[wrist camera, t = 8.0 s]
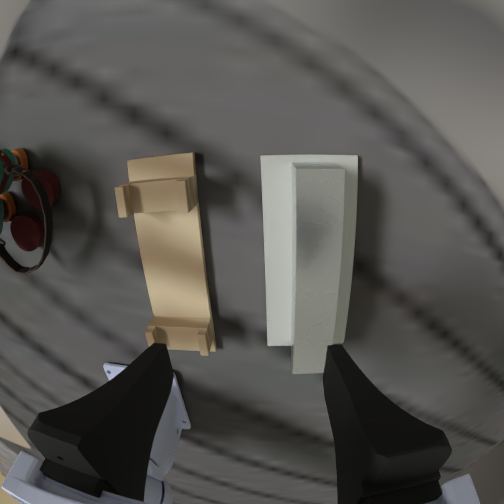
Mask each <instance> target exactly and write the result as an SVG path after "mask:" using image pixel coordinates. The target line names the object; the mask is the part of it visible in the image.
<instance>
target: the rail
mask: <svg viewBox="0 0 504 504" xmlns="http://www.w3.org/2000/svg"><path fill="white" fill-rule="evenodd" d="M344 180H345V169H344V168H342V167H340V166H338V165H336V164H334V163H332V162H291V183H292V300H291V356H292V372H293V374H307V373H324V367H325V360H326V353H327V345H332V344H333V336H334V328H335V319H336V310H337V300H338V290H339V279H340V266H341V252H342V236H343V215H344Z"/></svg>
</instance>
